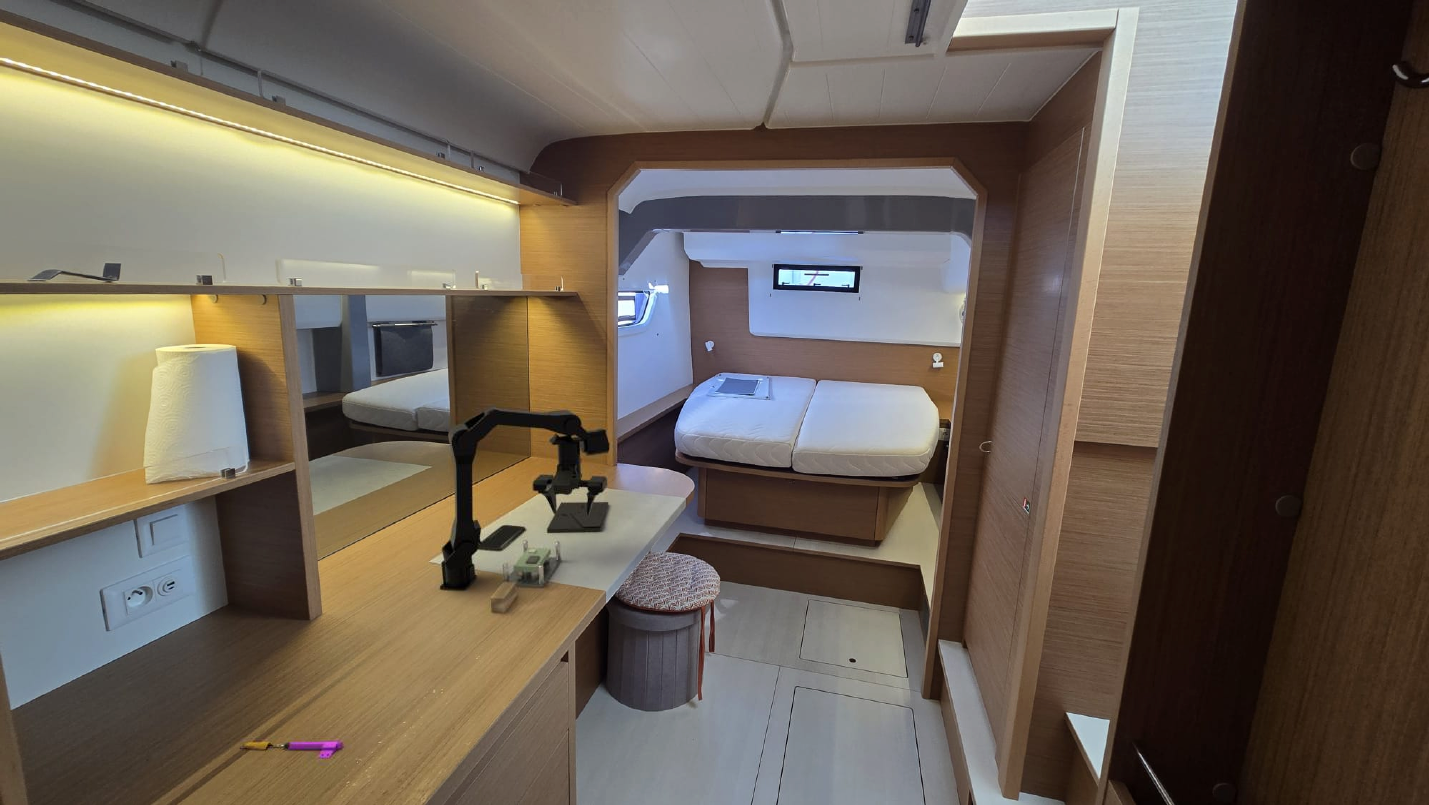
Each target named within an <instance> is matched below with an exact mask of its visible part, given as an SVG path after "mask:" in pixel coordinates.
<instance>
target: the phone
mask: <svg viewBox="0 0 1429 805" xmlns="http://www.w3.org/2000/svg"><path fill="white" fill-rule="evenodd" d="M524 532H526V526H523V525H522V526H521V525H511V524H509V525H508V524H502V525H501V526H500V527H498V528H497V529H495V530H494V531H493V532H492V533H490V534H489V535H488V536H487V537H486V538H484V539H483V540H481V543H482V544H479V543H478V544H479V547H478V550H481V551H488V552H489V551H490V552H501V551H504V549H506V548H507V547H509V545H511V543H513V542H514V541H515V540H516V539H517V538H518V537H519V536H521V535H522V534H523V533H524ZM478 550H477V551H478Z"/></svg>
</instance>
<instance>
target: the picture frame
mask: <svg viewBox="0 0 1429 805" xmlns="http://www.w3.org/2000/svg"><path fill="white" fill-rule="evenodd" d="M608 508H609V502H608V501H594V502H593V505H592V508H591V511H590V514H589V515H587V501H586V502H584V501H583V502H582V501H581V502H580V501H579V502H578V501H577V502H576V501H575V502H572V501H571V502H567V501H566V502H560V504H559V506H558V507H557V508H556V513H555V514H554V515H553V517H552V519H551V520H550V522H549V524H548V526H547V528H546V534H575V533H576V534H577V533H579V534H580V533H582V534H583V533H584V534H585V533H586V532H587V533H601V530H602V528H603V525H604V524H603V523H604V522H603V521H605V518H606V514H607V512H606V511H608Z"/></svg>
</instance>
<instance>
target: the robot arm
mask: <svg viewBox="0 0 1429 805" xmlns="http://www.w3.org/2000/svg"><path fill="white" fill-rule="evenodd" d="M497 426H505V427H506V426H507V427H508V426H509V427H518V428H530V429H542V430H547V431H551V432H553V433H554V435H553V436H552V437H551V438H550V439H549V440H548V442H549V443H550V444H551V445H552V446H557V460H558V461H557V462H558V463H557V465H556V472H555V474H554V475H553V474H539V476H537V477H536V478H535V479H534V480H533V481H532V491H533V492H537V493H538V494H539V495H542V496H544V497H545V498H546V501H547V502H548V505H549V507H550V510H551V511H552V513H553V514H554V515H555V513H556V511H557V509H558V507H557V506H558V505H557V496H558V495H565V496H566V495H567V496H569V495H571V494H572V493H573V491H574V490H578V489H580V488H587V491H588V492H587V493H586V497H587V501H586V502H587V515H589V514H590V511H591V508H592V505H593V502H595V499H596V497H597V496H599V495H600V494H601V493H603V492H604V491H605V490H606V488H607V487H608V478H607V477H606V476H603V475H602V476H601V475H599V476H598V475H593V476H591V477H590V478H589V479H582V478H583V473H582V468H581V466H582V462H583V460H582V458H581V453H584V454H585V455H586V456H587V457H588V456H596V455H603V454H608V453H609V452H610V442H609V438H608V435H607V430H606V429H605V428H597V429H593V430H587V429H585V428H584V427H583V425H582V419H581V418H580V417H579V416H578V415H577V414H575V413H574V412H573V411H571V410H567V409H561V410H551V411H543V412H542V411H533V410H532V411H531V410H521V409H512V408H511V409H509V408H501V407H496V406H489V407H487V408H485V409H484V410H483V411H481V412H480V413H478V414H476V415H475V416H472V417H470V418H469V419H468V420H466V421H464V422H463V423H459V424H456V425H453V426H452V427H451V428H450V429H449V431H448V434H447V436H448V440H449V446H450V451H451V455H452V458H453V461H454V514H455V516H454V520H453V523H452V526H451V531H450V535H449V536H450V538H449V539H448V540H447V542H445V544H444V545H443V546H442V547H441V552H442V557H443V560H442V561H441V564H440V565H441V572H442V573H441V576H442V584H441V585H440V586H439V589H440V590H453V591H454V590H456V591H457V590H458V591H465V590H467V589H468V588H469V587H470V586H471V585H472V583H473V582H474V581H475V580H476V579H477V577H478V575H477V574H476V567H475V563H473V556H474V555H475V553H476V552H478V547H479V544H482V543H481V541H482V540H481V533H482V527H481V525H480V523H479V520H478V519H475V520H474V518H473V516H474V515H473V514H474V513H473V512H474V511H473V510H474V508H473V506H474V504H473V502H474V501H473V499H474V498H473V462H474V461H475V457H476V454H477V448H478V444H479V442H481V440H483V439H484V438H485V437H486V436H487V435H488V434H489V433H491V431H493V429H495V428H496V427H497ZM558 434H560V435H558ZM573 436H574V437H573Z"/></svg>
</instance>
